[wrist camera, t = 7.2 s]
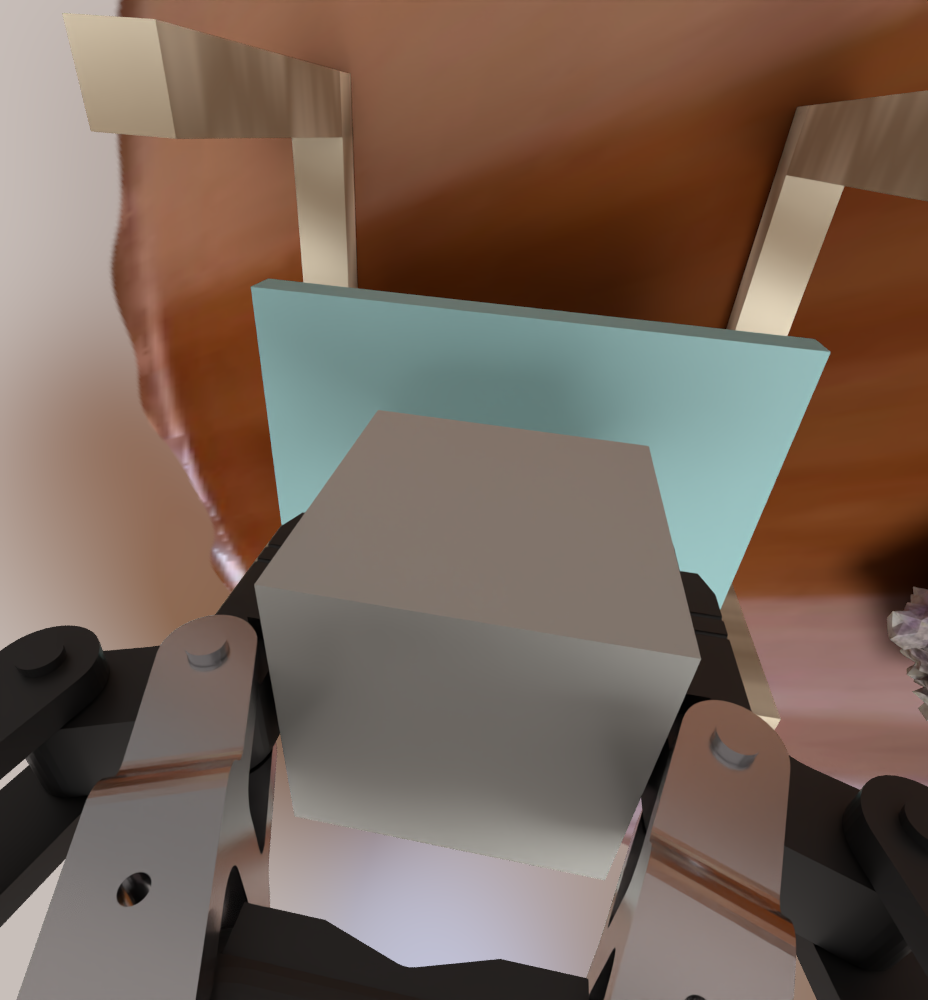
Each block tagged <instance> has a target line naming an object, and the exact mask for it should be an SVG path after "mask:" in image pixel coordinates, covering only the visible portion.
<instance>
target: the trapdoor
mask: <svg viewBox="0 0 928 1000" xmlns="http://www.w3.org/2000/svg"><path fill="white" fill-rule="evenodd" d="M251 292H252V299H253V307H254V315H255V323H256V330H257V338H258V346H259V353H260V361H261V369H262V377H263V384H264V392H265V400H266V407H267V415H268V423H269V431H270V438H271V446H272V454H273V461H274V469H275V477H276V485H277V492H278V500H279V508H280V515H281V523H282V525H283V524H285V523H287V522H288V521H290V520H291V519H293V518H295V517H296V516H298V515H299V514H301V513H302V512H303V513H305V512H306V511H307V509H308V508H309V507H310V505H311V504H312V502H313V501H314V499H315V498H316V497H317V495H318V494H319V492H320V491H321V490H322V488H323V487H324V485H325V484H326V483H327V481H328V480H329V478H330V477H331V475H332V474H333V473H334V471H335V470H336V468H337V467H338V466H339V464H340V463H341V461H342V460H343V459H344V457H345V456H346V454H347V453H348V451H349V450H350V449H351V447H352V446H353V444H354V443H355V442H356V440H357V439H358V437H359V436H360V435H361V433H362V432H363V430H364V429H365V427H366V426H367V425H368V423H369V422H370V420H371V419H372V418H373V416H374V415H375V413H376V412H377V411H378V410H383V411H390V412H398V413H405V414H413V415H420V416H428V417H435V418H443V419H450V420H458V421H465V422H473V423H480V424H488V425H495V426H503V427H510V428H518V429H525V430H533V431H540V432H548V433H555V434H563V435H570V436H578V437H585V438H593V439H600V440H608V441H615V442H623V443H630V444H638V445H645V446H649V449H650V453H651V457H652V461H653V465H654V469H655V473H656V478H657V482H658V486H659V490H660V494H661V498H662V502H663V506H664V510H665V514H666V518H667V522H668V526H669V530H670V535H671V539H672V543H673V546H674V549H675V553H676V557H677V561H678V565H679V569H680V571H684V572H690V573H697V574H699V576H700V577H701V578H702V579H703V580H704V582H705V583H706V584H707V585H708V586H709V587H710V589H711V590H712V591H713V592H714V593H715V595H716V598H717V601H718V604H719V608H720V609H721V607H722V605H723V602H724V600H725V598H726V595H727V593H728V590H729V588H730V586H731V583H732V581H733V579H734V576H735V574H736V572H737V569H738V567H739V565H740V562H741V560H742V558H743V555H744V553H745V551H746V548H747V546H748V544H749V541H750V539H751V537H752V534H753V532H754V530H755V527H756V525H757V523H758V520H759V518H760V516H761V513H762V511H763V509H764V506H765V504H766V502H767V499H768V497H769V495H770V492H771V490H772V488H773V485H774V483H775V481H776V478H777V476H778V474H779V471H780V469H781V467H782V464H783V462H784V460H785V457H786V455H787V453H788V450H789V448H790V446H791V443H792V441H793V439H794V436H795V434H796V432H797V429H798V427H799V425H800V422H801V420H802V418H803V415H804V413H805V411H806V408H807V406H808V404H809V401H810V399H811V397H812V394H813V392H814V390H815V387H816V385H817V383H818V380H819V378H820V376H821V373H822V371H823V369H824V366H825V364H826V362H827V359H828V357H829V355H830V351H829V350H828V349H826V348H825V347H824V346H823V345H821V344H820V343H819V342H818V341H817V340H815V339H809V338H800V337H791V336H782V335H773V334H764V333H755V332H746V331H737V330H728V329H719V328H710V327H701V326H692V325H683V324H674V323H665V322H656V321H647V320H638V319H628V318H619V317H610V316H601V315H592V314H583V313H574V312H565V311H556V310H547V309H538V308H529V307H520V306H511V305H502V304H493V303H484V302H475V301H466V300H457V299H448V298H439V297H430V296H421V295H412V294H403V293H394V292H385V291H376V290H367V289H358V288H349V287H340V286H331V285H322V284H313V283H304V282H294V281H285V280H276V279H266V280H264V281H262V282H260V283H258V284H256V285H254V286H251Z"/></svg>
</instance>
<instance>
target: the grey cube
mask: <svg viewBox="0 0 928 1000" xmlns="http://www.w3.org/2000/svg"><path fill="white" fill-rule="evenodd" d="M254 586H255V592H256V597H257V603H258V609H259V615H260V620H261V626H262V632H263V638H264V643H265V649H266V655H267V660H268V666H269V672H270V678H271V683H272V689H273V695H274V701H275V706H276V712H277V718H278V724H279V729H280V735H281V741H282V747H283V752H284V757H285V764H286V769H287V775H288V781H289V786H290V792H291V798H292V804H293V810H294V815H295V816H296V817H300V818H306V819H311V820H315V821H320V822H325V823H330V824H334V825H339V826H344V827H350V828H354V829H359V830H364V831H369V832H374V833H378V834H383V835H388V836H393V837H398V838H402V839H407V840H412V841H417V842H422V843H427V844H432V845H436V846H441V847H446V848H451V849H456V850H461V851H466V852H471V853H475V854H480V855H485V856H490V857H495V858H500V859H505V860H509V861H514V862H519V863H524V864H529V865H534V866H538V867H544V868H548V869H553V870H558V871H563V872H568V873H572V874H577V875H582V876H587V877H592V878H597V879H602V880H605V879H606V876H607V874H608V872H609V869H610V867H611V865H612V862H613V860H614V858H615V856H616V853H617V851H618V849H619V846H620V844H621V842H622V840H623V837H624V835H625V833H626V830H627V828H628V826H629V824H630V821H631V819H632V817H633V814H634V812H635V810H636V807H637V805H638V803H639V801H640V798H641V796H642V794H643V791H644V789H645V787H646V784H647V782H648V780H649V778H650V775H651V773H652V771H653V768H654V766H655V764H656V762H657V759H658V757H659V755H660V752H661V750H662V748H663V745H664V743H665V741H666V739H667V736H668V734H669V732H670V729H671V727H672V725H673V722H674V720H675V718H676V716H677V713H678V711H679V709H680V706H681V704H682V702H683V700H684V697H685V695H686V693H687V690H688V688H689V686H690V683H691V681H692V679H693V677H694V674H695V672H696V670H697V667H698V665H699V663H700V660H701V657H700V653H699V648H698V644H697V640H696V636H695V632H694V628H693V624H692V620H691V616H690V612H689V608H688V604H687V600H686V596H685V591H684V587H683V583H682V579H681V575H680V571H679V567H678V563H677V559H676V555H675V551H674V547H673V543H672V539H671V535H670V530H669V526H668V522H667V518H666V514H665V510H664V506H663V502H662V498H661V494H660V490H659V486H658V482H657V478H656V473H655V469H654V465H653V461H652V457H651V453H650V449H649V446H645V445H638V444H630V443H623V442H615V441H608V440H600V439H593V438H585V437H578V436H570V435H563V434H555V433H548V432H540V431H533V430H525V429H518V428H510V427H503V426H495V425H488V424H480V423H473V422H465V421H458V420H450V419H443V418H435V417H428V416H420V415H413V414H405V413H398V412H390V411H383V410H378V411H377V412H376V413H375V415H374V416H373V418H372V419H371V420H370V422H369V423H368V425H367V426H366V427H365V429H364V430H363V432H362V433H361V435H360V436H359V437H358V439H357V440H356V442H355V443H354V444H353V446H352V447H351V449H350V450H349V451H348V453H347V454H346V456H345V457H344V459H343V460H342V461H341V463H340V464H339V466H338V467H337V468H336V470H335V471H334V473H333V474H332V475H331V477H330V478H329V480H328V481H327V483H326V484H325V485H324V487H323V488H322V490H321V491H320V492H319V494H318V495H317V497H316V498H315V499H314V501H313V502H312V504H311V505H310V507H309V508H308V509H307V511H306V512H305V514H304V515H303V516H302V518H301V519H300V521H299V522H298V523H297V525H296V526H295V528H294V529H293V531H292V532H291V533H290V535H289V536H288V538H287V539H286V540H285V542H284V543H283V545H282V546H281V547H280V549H279V550H278V552H277V553H276V555H275V556H274V557H273V559H272V560H271V562H270V563H269V564H268V566H267V567H266V569H265V570H264V571H263V573H262V574H261V576H260V577H259V579H258V580H257V581H256V583H255V584H254Z"/></svg>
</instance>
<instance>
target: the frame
mask: <svg viewBox="0 0 928 1000" xmlns="http://www.w3.org/2000/svg"><path fill="white" fill-rule="evenodd" d="M63 18H64V23H65V27H66V30H67V35H68V39H69V43H70V47H71V51H72V55H73V60H74V63H75V68H76V72H77V76H78V80H79V84H80V88H81V92H82V97H83V101H84V105H85V109H86V113H87V117H88V121H89V125H90V129H91V131H94V132H105V133H117V134H128V135H139V136H151V137H162V138H173V139H205V138H292V148H293V160H294V172H295V185H296V197H297V209H298V221H299V233H300V246H301V258H302V270H303V282H304V283H313V284H322V285H331V286H340V287H349V288H358V287H357V257H356V226H355V195H354V164H353V134H352V103H351V74H349V73H346V72H342V71H339V70H335V69H331V68H328V67H324V66H321V65H317V64H314V63H310V62H306V61H303V60H299V59H296V58H292V57H288V56H285V55H281V54H278V53H274V52H271V51H267V50H263V49H260V48H256V47H253V46H249V45H246V44H242V43H238V42H235V41H231V40H228V39H224V38H220V37H217V36H213V35H210V34H206V33H203V32H199V31H195V30H192V29H188V28H185V27H181V26H178V25H174V24H170V23H167V22H163V21H160V20H156V19H144V18H129V17H114V16H98V15H84V14H68V13H63ZM844 186H848V187H853V188H858V189H864V190H869V191H875V192H880V193H885V194H891V195H896V196H902V197H907V198H913V199H918V200H923V201H928V91H920V92H912V93H904V94H896V95H888V96H881V97H873V98H865V99H857V100H849V101H841V102H833V103H825V104H817V105H809V106H801V107H797V109H796V112H795V115H794V118H793V122H792V125H791V128H790V131H789V134H788V137H787V140H786V143H785V147H784V150H783V153H782V156H781V159H780V162H779V165H778V168H777V172H776V175H775V178H774V181H773V184H772V187H771V190H770V193H769V197H768V200H767V203H766V206H765V209H764V212H763V215H762V218H761V222H760V225H759V228H758V231H757V234H756V237H755V240H754V244H753V247H752V250H751V253H750V256H749V259H748V262H747V265H746V269H745V272H744V275H743V278H742V281H741V284H740V287H739V290H738V294H737V297H736V300H735V303H734V306H733V309H732V312H731V315H730V319H729V322H728V325H727V328H726V329H728V330H737V331H746V332H755V333H764V334H773V335H782V336H787V335H788V333H789V330H790V327H791V325H792V322H793V320H794V317H795V314H796V312H797V309H798V306H799V304H800V301H801V299H802V296H803V293H804V291H805V288H806V285H807V283H808V280H809V278H810V275H811V272H812V270H813V267H814V264H815V262H816V259H817V257H818V254H819V251H820V249H821V246H822V243H823V241H824V238H825V236H826V233H827V230H828V228H829V225H830V222H831V220H832V217H833V215H834V212H835V209H836V207H837V204H838V201H839V199H840V196H841V194H842V191H843V188H844ZM281 526H282V525H281ZM281 526H280V527H281ZM278 530H279V529H278ZM278 530H277V531H278ZM275 534H276V533H275ZM272 538H273V537H272ZM269 542H270V541H269ZM266 547H268V544H267V545H266ZM263 550H264V549H263ZM260 554H261V553H260ZM258 557H259V556H258ZM258 557H257V559H256V560H255V561H256V562H257V560H258ZM255 561H254V562H255ZM252 565H253V564H252ZM252 565H251V566H252ZM249 569H250V568H249ZM246 573H247V572H246ZM243 577H244V576H243ZM240 581H241V580H240ZM237 585H238V584H237ZM234 589H235V588H234ZM231 593H232V592H231ZM228 597H229V596H228ZM225 601H226V600H225ZM223 604H224V603H223ZM223 604H222V605H223ZM220 608H221V607H220ZM720 611H721V614H722V621H724V624H725V627H726V630H727V633H728V637H727V639H729V640H730V643H731V646H732V649H733V653H734V656H735V659H736V662H737V666H738V669H739V672H740V675H741V678H742V682H743V685H744V688H745V691H746V694H747V698H748V701H749V704H750V707H751V710H752V712H753V713H755V714H756V715H758V716H759V717H760V718H762V719H763V720H764V721H765V722H767V723H768V724H769V725H770V726H771V727H772V728H773V729H774V730H775V728H776V726H777V725H778V723H779V721H780V716H779V713H778V710H777V708H776V705H775V702H774V699H773V696H772V694H771V691H770V688H769V685H768V682H767V680H766V677H765V674H764V671H763V669H762V666H761V663H760V660H759V657H758V655H757V652H756V649H755V646H754V644H753V641H752V638H751V635H750V632H749V630H748V627H747V624H746V621H745V618H744V616H743V613H742V610H741V607H740V605H739V602H738V599H737V596H736V593H735V591H734V588H733V585H732V583H731V586H730V588H729V590H728V593H727V595H726V598H725V600H724V602H723V605H722V607H721V609H720ZM217 612H218V611H217Z"/></svg>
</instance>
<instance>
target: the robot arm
mask: <svg viewBox="0 0 928 1000" xmlns="http://www.w3.org/2000/svg"><path fill="white" fill-rule="evenodd" d="M304 514H305V513H303V512H302V513H301V514H299V515H298V516H296V517H295V518H293V519H291V520H290V521H288V522H287V523H285V524H283V525H282V526H281V527H280V528H279V530H278V531H277V532H276V534H275V535H274V536H273V538H272V539H271V540H270V542H269V543H268V547H265V548H264V550H263V551H262V552H261V554H260V555H259V557H258V560H257V562H256V561H255V562H254V563H253V565H252V566H251V567H250V569H249V570H248V571H247V573H246V574H245V575H244V577H243V578H242V579H241V581H240V582H239V583H238V585H237V586H236V587H235V589H234V590H233V591H232V593H231V594H230V595H229V597H228V598H227V599H226V601H225V602H224V604H223V605H222V606H221V608H220V609H219V610H218V612H217V613H216V614H215V615H212V616H206V617H202V618H198V619H195V620H193V621H190V622H188V623H186V624H184V625H182V626H181V627H179V628H177V629H176V630H174V631H173V632H172V633H171V634H170V635H169V636H168V637H167V638H166V639H165V640H164V641H163V642H162V644H161V645H160V646H153V647H145V648H133V649H121V650H111V651H103V650H102V647H101V645H100V642H99V640H98V638H97V636H96V635H95V634H94V633H93V632H92V631H90V630H88V629H86V628H82V627H78V626H56V627H51V628H46V629H43V630H40V631H36V632H34V633H31V634H29V635H26V636H24V637H22V638H20V639H18V640H16V641H15V642H13V643H11V644H10V645H8V646H7V647H5V648H4V649H2V650H1V651H0V780H1V778H3V777H4V776H5V775H6V774H7V773H9V772H10V771H11V770H12V769H13V768H15V767H16V766H17V765H18V764H19V763H20V762H22V761H23V760H24V759H26V760H27V762H28V764H29V766H28V767H26V768H25V769H24V770H23V771H22V772H21V773H19V774H18V775H17V776H16V777H15V778H14V779H13V780H11V781H10V782H9V783H8V784H7V785H6V786H5V787H3V788H2V789H1V790H0V927H1V926H2V925H3V924H4V923H5V922H6V921H7V919H9V917H11V915H12V914H13V913H14V912H15V911H16V910H17V909H18V908H19V907H20V906H21V905H22V904H23V903H24V902H25V901H26V900H27V899H28V898H29V897H30V895H31V894H32V893H33V892H34V891H35V890H36V889H37V888H38V887H39V886H40V885H41V884H42V883H43V882H44V881H45V880H46V878H48V877H49V876H50V874H51V873H52V872H53V871H54V870H55V869H56V868H57V867H58V866H59V865H60V864H61V863H62V862H63V861H64V860H65V859H66V860H65V862H64V865H63V868H62V871H61V874H60V877H59V880H58V882H57V886H56V888H55V891H54V894H53V897H52V900H51V902H50V905H49V908H48V911H47V914H46V917H45V920H44V923H43V925H42V928H41V931H40V934H39V937H38V940H37V943H36V945H35V948H34V951H33V954H32V957H31V960H30V963H29V966H28V968H27V971H26V974H25V977H24V980H23V983H22V986H21V989H20V991H19V994H18V997H17V1000H794V984H795V964H796V955H797V957H798V960H799V961H800V964H801V966H802V968H803V970H804V972H805V975H806V977H807V979H808V981H809V983H810V986H811V988H812V990H813V992H814V994H815V996H816V999H817V1000H928V787H927V786H925V785H923V784H920V783H918V782H916V781H913V780H910V779H907V778H904V777H899V776H891V775H884V776H878V777H875V778H872V779H871V780H869V781H868V782H867V783H866V784H865V785H864V786H863V787H862V789H861V790H859V789H857V788H854V787H852V786H850V785H848V784H846V783H843V782H841V781H839V780H837V779H834V778H832V777H830V776H828V775H826V774H823V773H821V772H819V771H817V770H814V769H812V768H810V767H808V766H806V765H804V764H802V763H800V762H799V761H797V760H795V759H794V758H792V757H791V756H789V755H788V752H787V749H786V747H785V745H784V743H783V742H782V740H781V738H780V737H779V735H778V734H777V733H776V732H775V731H774V729H773V728H772V727H771V726H770V725H769V724H768V723H767V722H765V721H764V720H763V719H762V718H760V717H759V716H758V715H756V714H755V713H753V712H752V710H751V707H750V704H749V701H748V698H747V694H746V691H745V688H744V685H743V682H742V678H741V675H740V672H739V669H738V666H737V662H736V659H735V656H734V653H733V649H732V646H731V643H730V640H729V639H727V637H728V633H727V630H726V627H725V624H724V621H722V614H721V611H720V608H719V604H718V601H717V598H716V595H715V593H714V592H713V591H712V590H711V589H710V587H709V586H708V585H707V584H706V583H705V582H704V580H703V579H702V578H701V577H700V576H699V574H697V573H690V572H684V571H680V569H679V571H680V575H681V579H682V583H683V587H684V591H685V596H686V600H687V604H688V608H689V612H690V616H691V620H692V624H693V628H694V632H695V636H696V640H697V644H698V648H699V653H700V657H701V660H700V663H699V665H698V667H697V670H696V672H695V674H694V677H693V679H692V681H691V683H690V686H689V688H688V690H687V693H686V695H685V697H684V700H683V702H682V704H681V706H680V709H679V711H678V713H677V716H676V718H675V720H674V722H673V725H672V727H671V729H670V732H669V734H668V736H667V739H666V741H665V743H664V745H663V748H662V750H661V752H660V755H659V757H658V759H657V762H656V764H655V766H654V768H653V771H652V773H651V775H650V778H649V780H648V782H647V784H646V787H645V789H644V791H643V794H642V796H641V800H642V811H641V813H640V816H639V818H638V820H637V822H636V825H635V829H634V832H633V835H632V838H631V842H630V845H629V848H628V851H627V855H626V858H625V861H624V865H623V868H622V871H621V874H620V877H619V881H618V884H617V887H616V890H615V894H614V897H613V900H612V904H611V907H610V910H609V914H608V917H607V920H606V923H605V927H604V929H603V933H602V936H601V939H600V942H599V945H598V948H597V950H596V953H595V955H594V958H593V961H592V963H591V966H590V969H589V971H588V974H587V977H586V978H583V977H578V976H574V975H570V974H564V973H561V972H556V971H552V970H547V969H543V968H538V967H533V966H529V965H525V964H520V963H516V962H511V961H506V960H502V959H496V960H486V961H477V962H467V963H456V964H446V965H436V966H426V967H416V968H415V967H414V968H413V967H410V968H409V967H405V966H402V965H400V964H397V963H396V962H394V961H392V960H390V959H389V958H387V957H386V956H384V955H382V954H381V953H379V952H377V951H376V950H374V949H372V948H371V947H369V946H367V945H366V944H364V943H362V942H361V941H359V940H357V939H356V938H354V937H352V936H351V935H349V934H348V933H346V932H344V931H343V930H341V929H339V928H337V927H336V926H334V925H333V924H331V923H329V922H328V921H326V920H323V919H318V918H314V917H308V916H305V915H300V914H296V913H291V912H287V911H282V910H278V909H273V908H270V889H269V853H270V840H271V827H272V813H273V801H274V788H275V774H276V761H277V745H276V740H277V738H278V736H279V734H280V729H279V724H278V718H277V712H276V706H275V701H274V695H273V689H272V683H271V678H270V672H269V666H268V660H267V655H266V649H265V643H264V638H263V632H262V626H261V620H260V615H259V609H258V603H257V597H256V592H255V586H254V584H255V583H256V581H257V580H258V579H259V577H260V576H261V574H262V573H263V571H264V570H265V569H266V567H267V566H268V564H269V563H270V562H271V560H272V559H273V557H274V556H275V555H276V553H277V552H278V550H279V549H280V547H281V546H282V545H283V543H284V542H285V540H286V539H287V538H288V536H289V535H290V533H291V532H292V531H293V529H294V528H295V526H296V525H297V523H298V522H299V521H300V519H301V518H302V516H303V515H304ZM673 547H674V546H673ZM674 551H675V549H674ZM675 555H676V553H675ZM676 559H677V557H676ZM677 563H678V561H677ZM678 567H679V565H678Z"/></svg>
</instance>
